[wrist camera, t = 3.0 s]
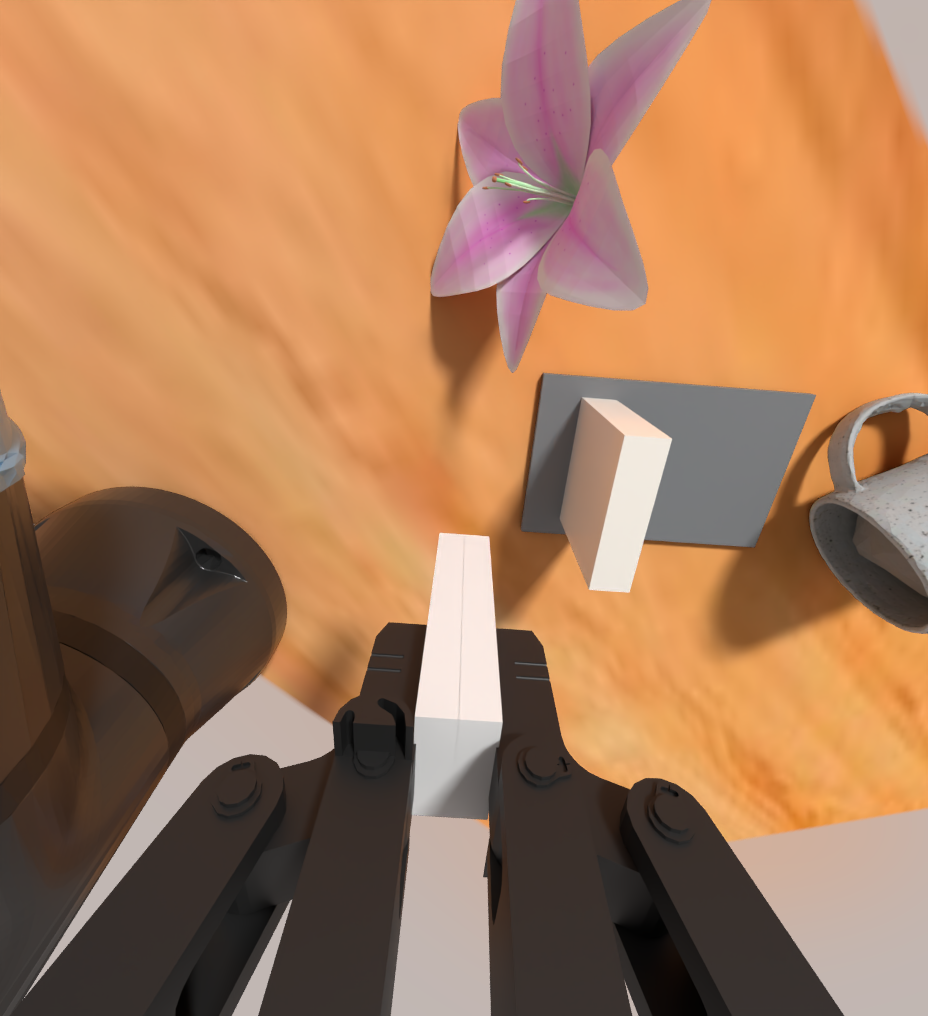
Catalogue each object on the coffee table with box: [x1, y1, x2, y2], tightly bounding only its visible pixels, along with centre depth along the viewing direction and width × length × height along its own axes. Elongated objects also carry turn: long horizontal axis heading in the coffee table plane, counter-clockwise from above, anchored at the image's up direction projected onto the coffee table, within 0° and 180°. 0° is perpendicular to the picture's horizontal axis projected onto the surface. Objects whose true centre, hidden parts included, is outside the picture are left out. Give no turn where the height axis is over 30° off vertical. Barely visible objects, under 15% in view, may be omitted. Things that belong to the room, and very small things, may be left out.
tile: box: [560, 397, 672, 592], centre depth 21 cm, size 2×7×7 cm, turn 176°
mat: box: [521, 373, 816, 547], centre depth 25 cm, size 14×9×1 cm, turn 86°
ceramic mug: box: [809, 393, 928, 634], centre depth 22 cm, size 11×8×8 cm
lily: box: [431, 0, 711, 373], centre depth 17 cm, size 12×12×10 cm
